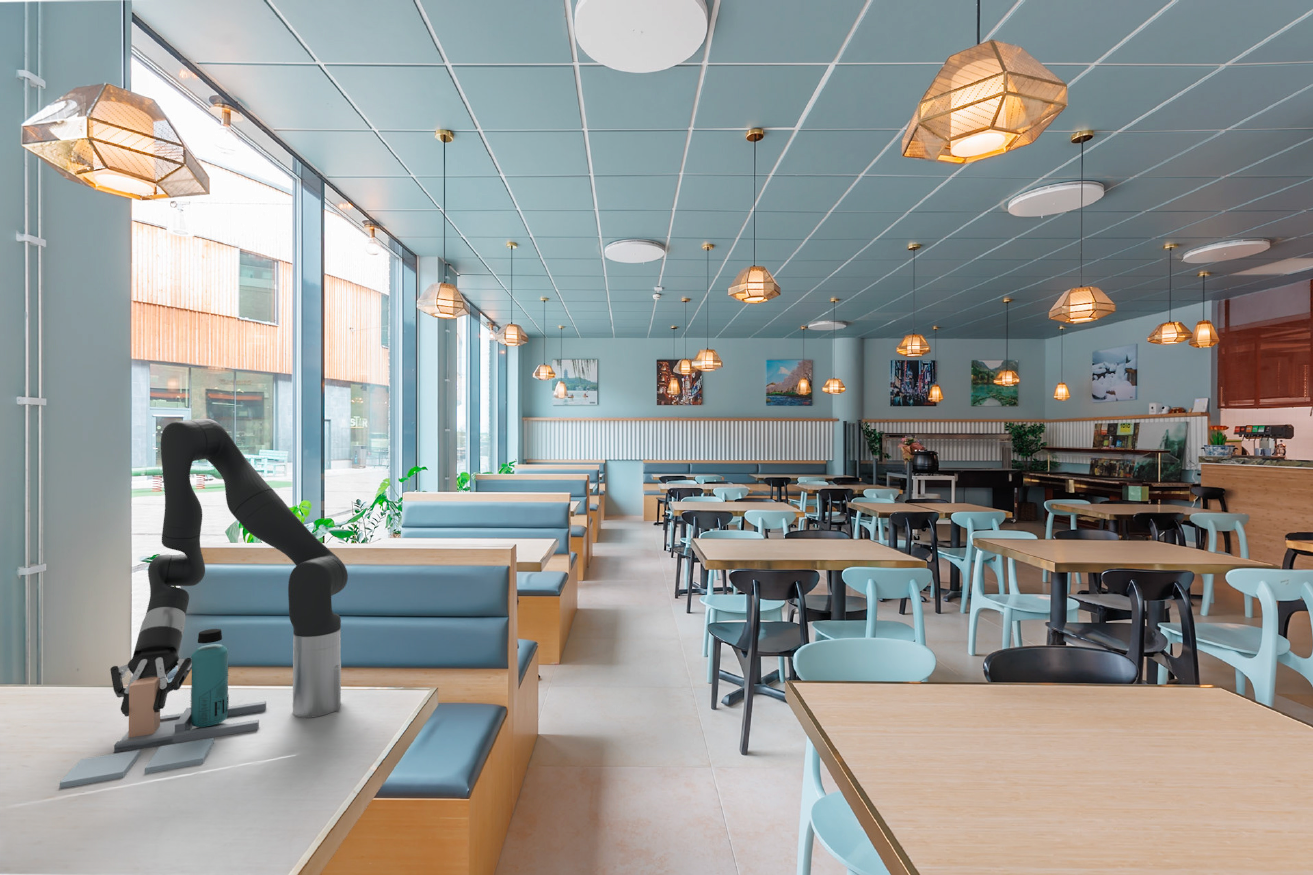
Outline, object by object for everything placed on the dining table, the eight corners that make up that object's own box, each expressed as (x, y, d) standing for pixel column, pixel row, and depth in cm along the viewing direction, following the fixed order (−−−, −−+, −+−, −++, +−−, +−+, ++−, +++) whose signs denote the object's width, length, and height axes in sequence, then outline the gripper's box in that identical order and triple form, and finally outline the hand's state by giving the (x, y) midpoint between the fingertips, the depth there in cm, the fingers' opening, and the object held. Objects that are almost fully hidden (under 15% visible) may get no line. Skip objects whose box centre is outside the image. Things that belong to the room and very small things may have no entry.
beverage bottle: (214, 734, 126) (216, 634, 127) (181, 735, 126) (182, 634, 127) (235, 720, 133) (237, 625, 134) (204, 721, 133) (205, 625, 133)
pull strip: (266, 707, 139) (266, 657, 139) (257, 729, 128) (258, 675, 128) (135, 727, 129) (136, 673, 130) (114, 752, 118) (115, 693, 119)
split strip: (214, 743, 122) (214, 737, 122) (203, 764, 114) (203, 757, 114) (81, 765, 114) (81, 758, 114) (59, 789, 106) (59, 782, 106)
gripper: (114, 628, 129) (89, 710, 118) (198, 620, 135) (182, 697, 124) (123, 647, 134) (100, 727, 123) (204, 639, 140) (189, 714, 129)
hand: (141, 712), depth 123 cm, fingers closed on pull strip, 4 cm apart
